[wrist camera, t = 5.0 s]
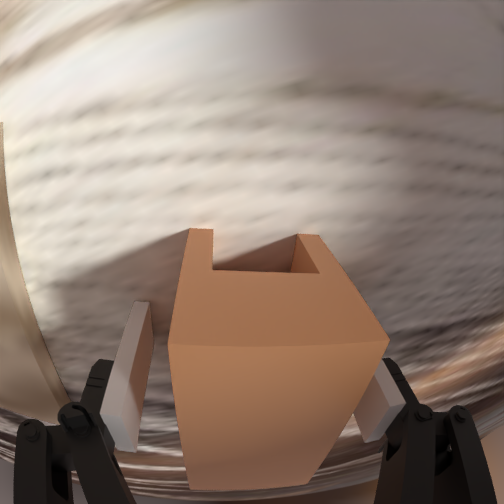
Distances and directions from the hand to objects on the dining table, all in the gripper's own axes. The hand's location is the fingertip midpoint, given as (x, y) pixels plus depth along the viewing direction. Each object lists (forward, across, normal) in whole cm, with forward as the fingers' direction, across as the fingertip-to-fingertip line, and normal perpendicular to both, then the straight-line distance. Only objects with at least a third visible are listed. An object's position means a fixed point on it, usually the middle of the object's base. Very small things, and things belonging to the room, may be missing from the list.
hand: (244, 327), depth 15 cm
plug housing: (0, 0, 0) cm, 0 cm away
